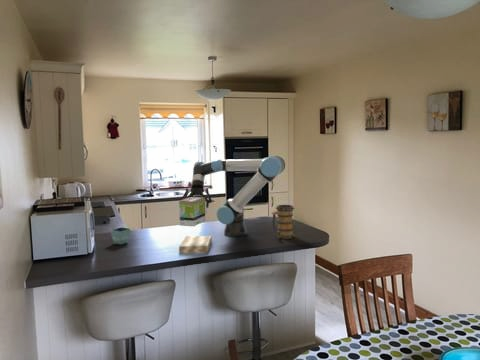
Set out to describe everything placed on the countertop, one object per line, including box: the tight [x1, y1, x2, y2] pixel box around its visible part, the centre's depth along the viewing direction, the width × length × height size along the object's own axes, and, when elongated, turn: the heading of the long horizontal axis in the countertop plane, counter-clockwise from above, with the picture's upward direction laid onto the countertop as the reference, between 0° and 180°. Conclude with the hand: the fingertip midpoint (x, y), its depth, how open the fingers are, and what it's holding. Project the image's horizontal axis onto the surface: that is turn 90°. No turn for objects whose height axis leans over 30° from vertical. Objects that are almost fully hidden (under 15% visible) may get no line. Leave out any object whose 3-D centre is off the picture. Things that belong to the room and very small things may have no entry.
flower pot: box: [110, 226, 131, 245], centre depth 233 cm, size 9×9×9 cm
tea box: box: [178, 196, 206, 227], centre depth 217 cm, size 15×10×15 cm, turn 161°
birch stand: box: [178, 235, 213, 254], centre depth 221 cm, size 16×22×4 cm
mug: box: [271, 204, 296, 240], centre depth 239 cm, size 13×17×20 cm
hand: (195, 212), depth 220 cm, fingers closed on tea box, 11 cm apart
